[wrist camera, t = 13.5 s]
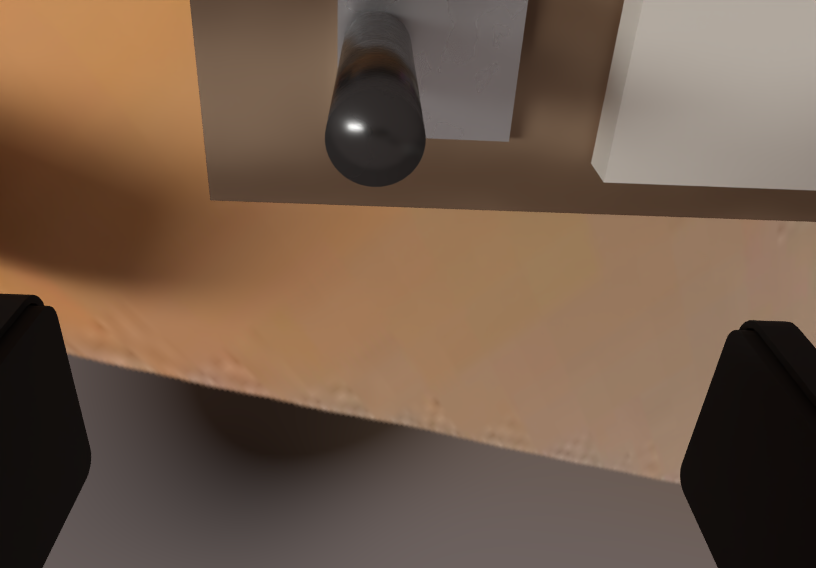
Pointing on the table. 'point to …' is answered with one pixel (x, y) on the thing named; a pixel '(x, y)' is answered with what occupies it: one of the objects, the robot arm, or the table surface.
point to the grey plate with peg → (420, 81)
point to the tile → (711, 95)
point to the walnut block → (443, 158)
